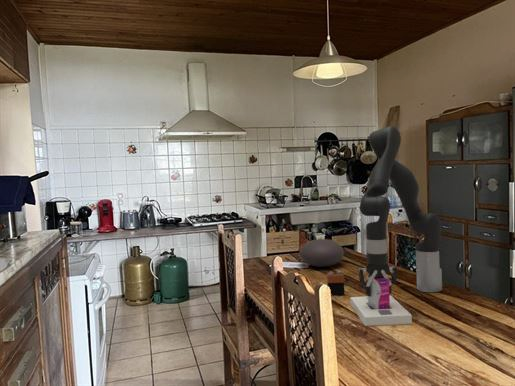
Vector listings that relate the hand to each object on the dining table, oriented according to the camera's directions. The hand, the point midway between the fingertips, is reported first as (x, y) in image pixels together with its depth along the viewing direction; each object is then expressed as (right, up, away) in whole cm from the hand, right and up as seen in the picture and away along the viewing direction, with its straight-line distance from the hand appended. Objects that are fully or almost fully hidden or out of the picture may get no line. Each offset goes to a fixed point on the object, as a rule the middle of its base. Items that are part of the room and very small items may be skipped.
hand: (378, 295), depth 146 cm
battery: (-11, -6, +25) cm, 28 cm away
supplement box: (0, -5, 0) cm, 5 cm away
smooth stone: (-8, -4, +77) cm, 78 cm away
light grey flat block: (0, -7, 0) cm, 7 cm away
